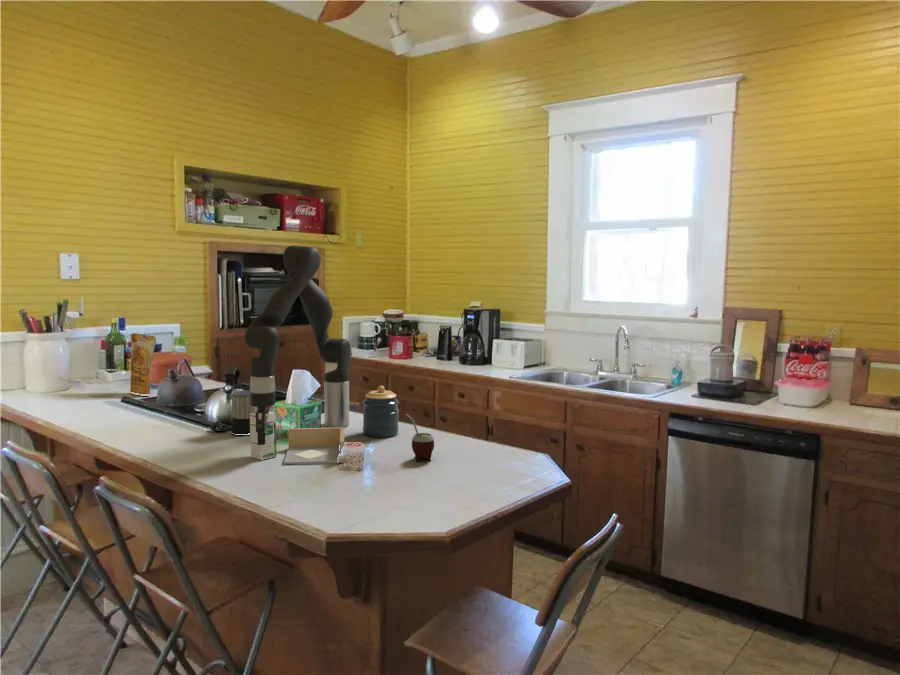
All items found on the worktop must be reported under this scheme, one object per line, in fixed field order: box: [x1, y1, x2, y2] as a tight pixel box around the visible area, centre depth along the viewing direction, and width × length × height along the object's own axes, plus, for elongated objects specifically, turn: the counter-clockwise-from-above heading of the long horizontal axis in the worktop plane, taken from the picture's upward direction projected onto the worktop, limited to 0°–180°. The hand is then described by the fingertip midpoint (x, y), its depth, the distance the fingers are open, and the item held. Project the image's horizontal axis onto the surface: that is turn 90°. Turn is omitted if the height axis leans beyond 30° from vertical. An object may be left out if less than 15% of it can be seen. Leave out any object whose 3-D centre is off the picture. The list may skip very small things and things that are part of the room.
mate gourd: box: [405, 413, 435, 463], centre depth 201 cm, size 8×8×15 cm
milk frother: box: [210, 390, 258, 434], centre depth 231 cm, size 14×16×15 cm
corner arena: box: [283, 427, 345, 466], centre depth 204 cm, size 18×18×7 cm
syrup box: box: [249, 410, 278, 461], centre depth 201 cm, size 6×6×14 cm
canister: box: [362, 385, 400, 438], centre depth 233 cm, size 13×13×18 cm
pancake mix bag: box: [129, 332, 157, 394], centre depth 296 cm, size 7×19×28 cm, turn 51°
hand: (263, 441), depth 201 cm, fingers open, 8 cm apart
